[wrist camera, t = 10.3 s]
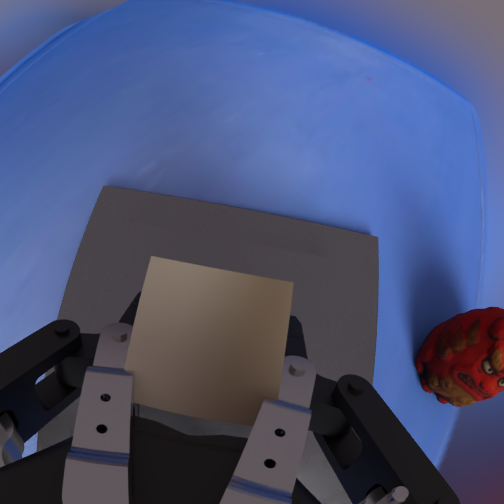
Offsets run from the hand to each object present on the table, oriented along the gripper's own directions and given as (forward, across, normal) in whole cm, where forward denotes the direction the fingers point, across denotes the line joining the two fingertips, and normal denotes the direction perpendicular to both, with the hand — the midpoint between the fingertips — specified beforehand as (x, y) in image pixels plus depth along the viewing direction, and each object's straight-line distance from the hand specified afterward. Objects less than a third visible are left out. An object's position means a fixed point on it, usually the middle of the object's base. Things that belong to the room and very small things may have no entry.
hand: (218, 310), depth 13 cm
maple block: (+2, 0, +4) cm, 5 cm away
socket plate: (+4, 0, +7) cm, 8 cm away
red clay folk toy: (+5, -18, +6) cm, 20 cm away
